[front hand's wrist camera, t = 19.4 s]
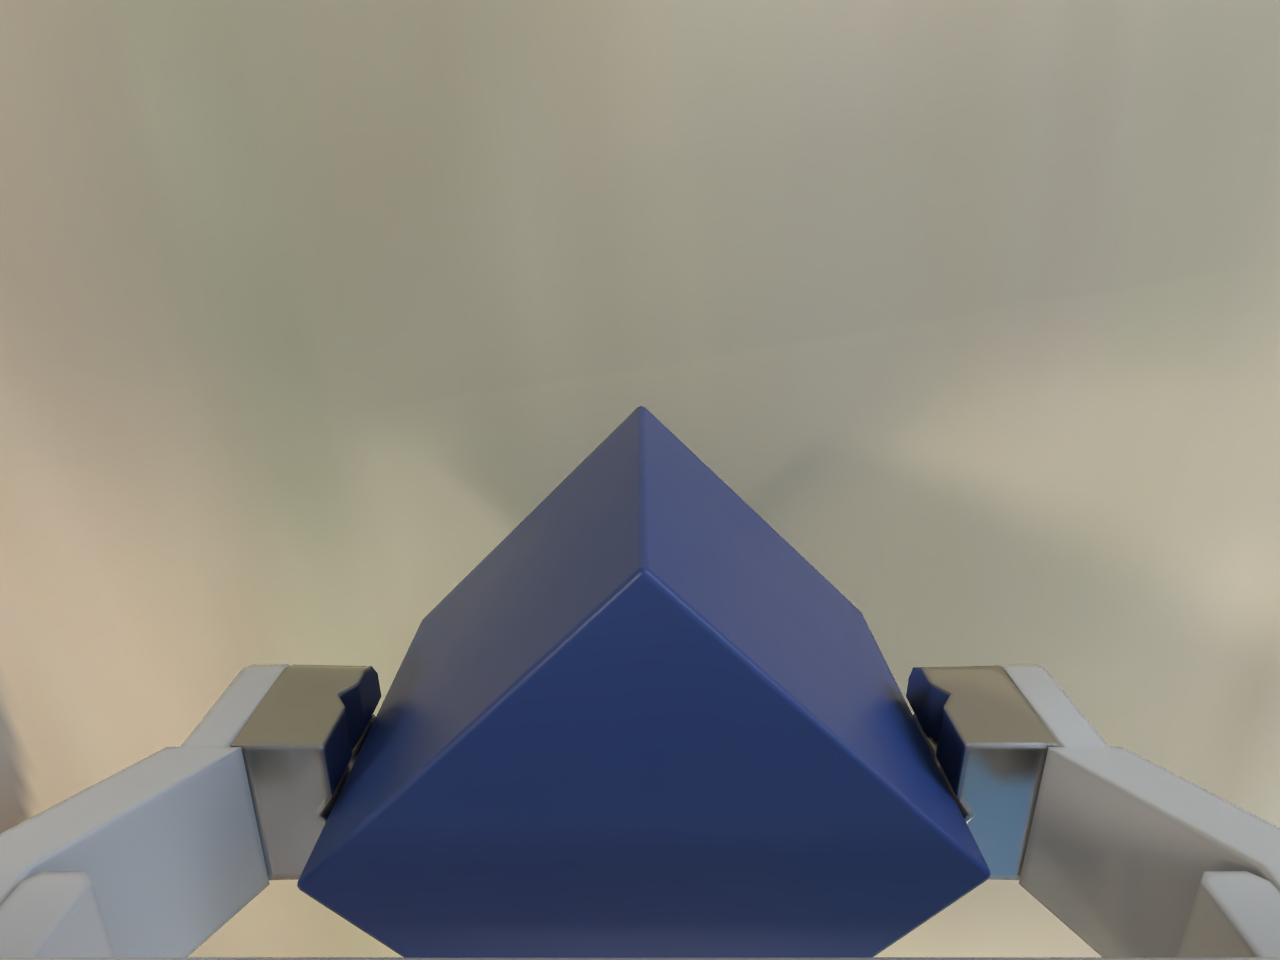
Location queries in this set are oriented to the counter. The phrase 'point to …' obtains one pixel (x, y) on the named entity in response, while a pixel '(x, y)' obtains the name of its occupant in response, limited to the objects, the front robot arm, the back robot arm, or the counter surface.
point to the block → (643, 746)
